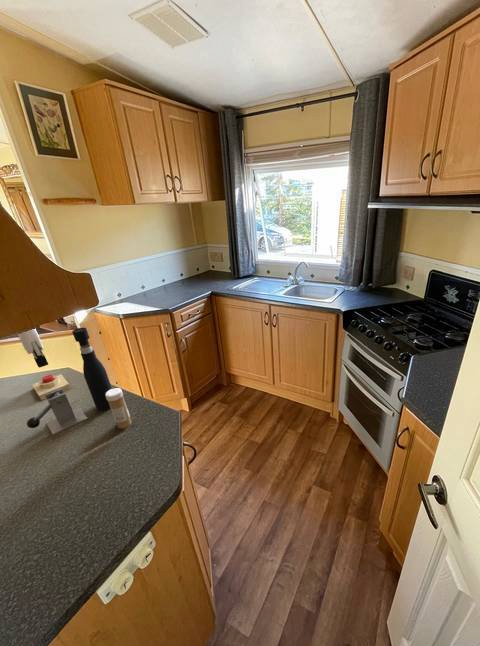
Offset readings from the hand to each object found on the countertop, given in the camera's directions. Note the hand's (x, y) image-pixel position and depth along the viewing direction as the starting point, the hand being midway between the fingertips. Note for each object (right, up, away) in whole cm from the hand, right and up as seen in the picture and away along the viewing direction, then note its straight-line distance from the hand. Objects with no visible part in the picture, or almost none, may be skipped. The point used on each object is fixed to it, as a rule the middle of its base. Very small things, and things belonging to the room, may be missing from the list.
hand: (43, 365), depth 112 cm
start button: (0, -6, +3) cm, 7 cm away
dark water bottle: (+30, -15, -9) cm, 34 cm away
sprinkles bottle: (+41, -18, -18) cm, 48 cm away
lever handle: (+18, -14, -20) cm, 30 cm away
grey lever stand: (+20, -18, -15) cm, 31 cm away
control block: (0, -10, +4) cm, 11 cm away
